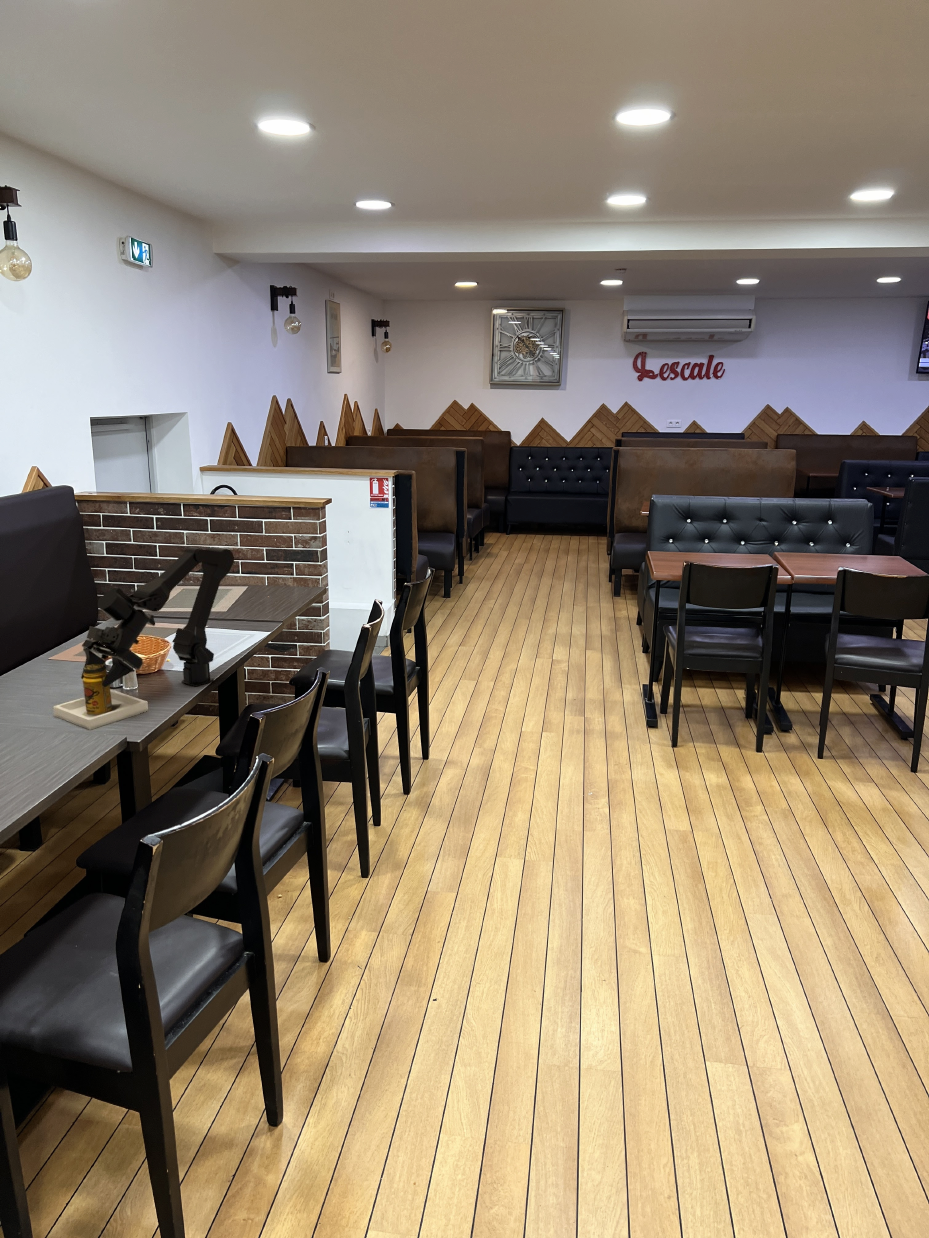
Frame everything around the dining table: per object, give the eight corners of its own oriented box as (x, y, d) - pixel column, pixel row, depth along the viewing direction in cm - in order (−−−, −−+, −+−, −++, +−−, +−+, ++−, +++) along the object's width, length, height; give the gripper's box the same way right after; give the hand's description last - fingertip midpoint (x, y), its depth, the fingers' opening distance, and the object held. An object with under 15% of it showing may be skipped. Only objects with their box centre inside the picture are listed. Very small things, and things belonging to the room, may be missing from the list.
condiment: (79, 716, 211) (74, 670, 208) (94, 704, 220) (89, 660, 217) (109, 716, 211) (104, 670, 208) (122, 704, 220) (117, 660, 217)
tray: (112, 698, 226) (111, 689, 226) (148, 710, 217) (147, 701, 216) (54, 715, 214) (53, 706, 213) (89, 729, 204) (88, 720, 204)
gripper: (84, 608, 217) (48, 659, 211) (127, 618, 207) (90, 673, 201) (115, 631, 226) (81, 681, 220) (158, 642, 215) (123, 695, 209)
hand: (93, 682), depth 212 cm, fingers open, 9 cm apart
